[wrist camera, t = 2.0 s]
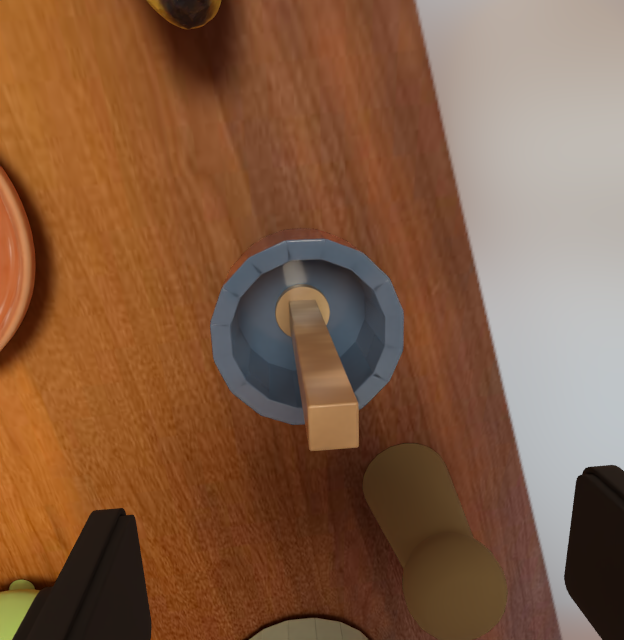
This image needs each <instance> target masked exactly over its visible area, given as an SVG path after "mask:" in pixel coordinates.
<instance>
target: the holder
mask: <svg viewBox="0 0 624 640" xmlns="http://www.w3.org/2000/svg"><path fill="white" fill-rule="evenodd" d="M298 284H307V285H311V286H313V287H315V288H317V289H318V290H320V291H321V292H322V293H323V295H324V296H325V298H326V300H327V302H328V304H329V308H330V316H329V321H328V323H327V325H326V326H327V329H328V331H329V334H330V336H331V338H332V341H333V343H334V346H335V348H336V351H337V353H338V355H339V358H340V360H341V363H342V365H343V368H344V370H345V372H346V375H347V377H348V380H349V382H350V384H351V387H352V389H353V392H354V394H355V397H356V399H357V401H358V405H359V409H362V408H363V407H364V406H365V405H366V404H367V403H368V402H369V401H370V400H371V399H372V398H373V397H374V396H375V395H376V394H377V393H378V392H379V391H380V390H381V389H382V388H383V387H384V386H385V385H386V384H387V383H388V382H389V381H390V379H391V377H392V374H393V372H394V370H395V367H396V365H397V363H398V360H399V358H400V356H401V354H402V351H403V339H404V313H403V309H402V306H401V304H400V301H399V299H398V297H397V294H396V292H395V290H394V287H393V285H392V282H391V280H390V279H389V277H388V276H387V275H386V274H385V273H384V272H383V271H382V270H381V269H380V268H379V267H378V266H376V265H375V264H374V263H373V262H372V261H371V260H370V259H369V258H368V257H367V256H366V255H365V254H364V253H363V252H361V251H360V250H359V249H357V248H356V247H354V246H353V245H352V244H350V243H349V242H348V241H346V240H344V239H342V238H339V237H336V236H334V235H332V234H330V233H326V232H323V231H320V230H318V229H301V228H297V229H288V230H283V231H282V230H281V231H279V232H276V233H274V234H271V235H268V236H266V237H264V238H263V239H261V240H259V241H257V242H256V243H253V244H252V245H251V246H250V247H249V248H248V249H247V250H246V251H245V252H244V253H243V254H242V255H241V256H240V258H239V259H238V260H237V261H236V263H235V264H234V265H233V266H232V267H231V268H230V270H229V272H228V275H227V277H226V279H225V282H224V284H223V286H222V288H221V291H220V294H219V297H218V300H217V303H216V306H215V309H214V312H213V315H212V318H211V321H210V322H211V324H210V330H211V341H212V352H213V359H214V363H215V364H216V366H217V368H218V370H219V372H220V373H221V375H222V377H223V379H224V381H225V382H226V384H227V386H228V388H229V390H230V391H231V392H232V393H233V394H234V395H235V396H237V397H238V398H239V399H240V400H242V401H243V402H244V403H245V404H247V405H248V406H249V407H250V408H252V409H253V410H254V411H256V412H257V413H258V414H260V415H261V416H265V417H268V418H271V419H275V420H278V421H281V422H285V423H288V424H291V425H301V424H305V420H304V414H303V408H302V401H301V395H300V388H299V382H298V376H297V369H296V363H295V356H294V350H293V344H292V337H290V336H288V335H287V334H285V333H284V332H283V331H282V330H281V329H280V327H279V325H278V323H277V321H276V316H275V307H276V303H277V300H278V298H279V296H280V295H281V294H282V293H283V292H284V291H285V290H286V289H287V288H289V287H291V286H294V285H298Z"/></svg>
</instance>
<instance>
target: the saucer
mask: <svg viewBox="0 0 624 640" xmlns="http://www.w3.org/2000/svg"><path fill="white" fill-rule="evenodd" d="M35 272H36V264H35V248H34V242H33V236H32V232H31V228H30V224H29V220H28V218H27V215H26V212H25V209H24V207H23V204H22V202H21V200H20V198H19V195H18V193H17V191H16V189H15V187H14V186H13V184H12V182H11V180H10V179H9V177H8V176H7V174H6V173H5V171H4V170H3V168H2V167H1V166H0V351H1V350H2V349H3V348H4V347H5V346H6V344H7V343H8V342H9V341H10V339H11V338H12V337H13V335H14V334H15V332H16V331H17V330H18V328H19V326H20V324H21V322H22V321H23V319H24V317H25V314H26V312H27V310H28V307H29V304H30V301H31V297H32V293H33V289H34V282H35Z"/></svg>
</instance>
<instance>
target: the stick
mask: <svg viewBox="0 0 624 640" xmlns="http://www.w3.org/2000/svg"><path fill="white" fill-rule="evenodd" d="M275 316H276V321H277V323H278V325H279V327H280V329H281V330H282V331H283V332H284V333H285V334H287V335H288V336H290V337H292V344H293V350H294V356H295V363H296V369H297V376H298V382H299V388H300V395H301V401H302V408H303V414H304V420H305V427H306V433H307V440H308V446H309V450H310V451H320V450H333V449H346V448H357V447H358V446H359V405H358V401H357V399H356V397H355V394H354V392H353V389H352V387H351V384H350V382H349V380H348V377H347V375H346V372H345V370H344V368H343V365H342V363H341V360H340V358H339V355H338V353H337V351H336V348H335V346H334V343H333V341H332V338H331V336H330V334H329V331H328V329H327V326H326V325H327V323H328V321H329V316H330V308H329V304H328V302H327V300H326V298H325V296H324V295H323V293H322V292H321V291H320V290H318V289H317V288H315V287H313V286H311V285H307V284H298V285H294V286H291V287H289V288H287V289H286V290H285V291H284V292H283V293H282V294H281V295H280V296H279V298H278V300H277V303H276V307H275Z"/></svg>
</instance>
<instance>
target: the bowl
mask: <svg viewBox="0 0 624 640" xmlns="http://www.w3.org/2000/svg"><path fill="white" fill-rule="evenodd" d="M249 640H369V639H368V638H367V637H366V636H365V635H364V634H363V633H361V631H359V630H357V629H355V628H353V627H350V626H348V625H346V624H344V623H342V622H339V621H332V620H326V619H320V618H315V619H314V618H305V619H295V620H287V621H284V622H281V623H278V624H276V625H273V626H270V627H268V628H265V629H263V630H262V631H260V632H259V633H257V634H256V635H255V636H253V637H252V638H250V639H249Z"/></svg>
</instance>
